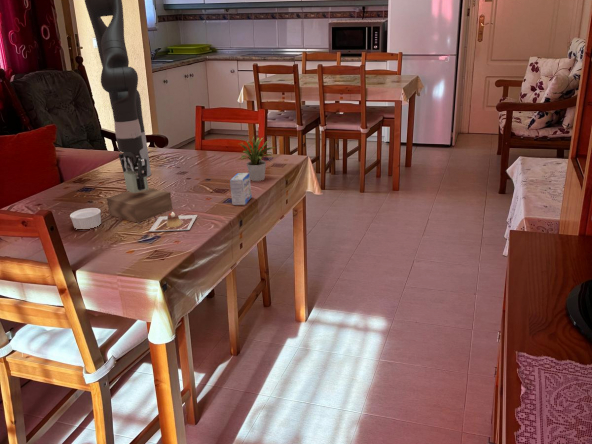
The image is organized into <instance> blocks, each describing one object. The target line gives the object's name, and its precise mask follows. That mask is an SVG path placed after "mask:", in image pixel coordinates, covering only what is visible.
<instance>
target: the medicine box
mask: <svg viewBox="0 0 592 444" xmlns="http://www.w3.org/2000/svg"><path fill="white" fill-rule="evenodd" d="M229 185H230V195H231V204H232V205H233V206H246V205H247V204H248V203H249V201H250V199H252V198H253V197H252V187H251V179H250V175H249V172H238V173H236V174H235V175H234V176H233V177H231V179H230V180H229Z"/></svg>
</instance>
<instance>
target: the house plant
mask: <svg viewBox="0 0 592 444" xmlns="http://www.w3.org/2000/svg"><path fill="white" fill-rule="evenodd" d="M263 139H264V136H262V137H261V138H260V137H259V136H258V137H257V138H256V140H255V135H254V134H253V136H252V145H251V143H250V142H249V141H248V140H245V142H246V144H247V146H246V145H245V144H243V142H244V140H242V141H243V142H241V141H240V143H239V145H240V146H242V148H243V149H245V150H243V151H242V152H243V153H244V154H246V155H241V157H240V159H242V160H244V159H246V158H247V159H248V160H249V161H248V162H246V167H247V170H248V172H247V173H249V175H250V181H251V180H252V181H251V182H262V181H264V180H265V178H266V166H267V162H266V161H265V160H263V158H265V157H267V156H270V157H272V155H273V152H271V151H269V150H271V149H276V148H277V147H273V146H272V147H267V146H269V141H271V140H272V139H268V140H267V141H265V142H264V143H263V145H262V146H261V147H260V144H261V142H262V140H263ZM248 147H249V148H248ZM259 147H260V148H259ZM268 151H269V152H268ZM261 180H262V181H261Z"/></svg>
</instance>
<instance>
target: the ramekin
mask: <svg viewBox="0 0 592 444" xmlns="http://www.w3.org/2000/svg"><path fill="white" fill-rule="evenodd" d="M101 212H102V211H101V209H100V208H96V207H87V208H81V209H78V210H75V211H73V212H72V213H70V215H69V217H70V220H71V222H72V225H73V228H74V229H75V228H76V229H75V230H77V229H90V228H94V227H96V228H98V227H100V226H101V225H100V224H102V216H101ZM99 225H100V226H99ZM97 226H98V227H97ZM94 229H95V228H94ZM90 230H91V229H90Z"/></svg>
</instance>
